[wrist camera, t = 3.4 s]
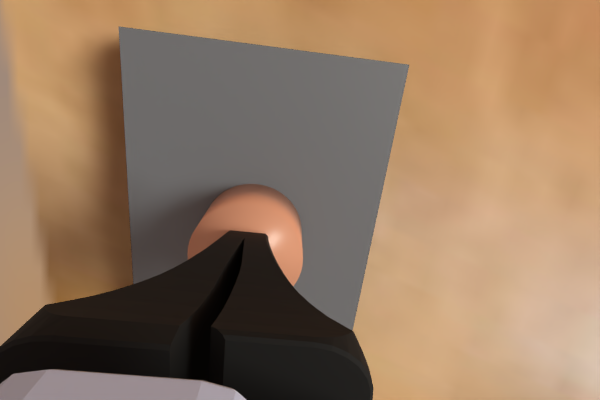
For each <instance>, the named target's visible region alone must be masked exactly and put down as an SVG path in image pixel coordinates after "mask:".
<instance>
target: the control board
mask: <svg viewBox="0 0 600 400" xmlns="http://www.w3.org/2000/svg"><path fill="white" fill-rule="evenodd" d="M119 41H120V58H121V75H122V93H123V110H124V128H125V145H126V163H127V180H128V198H129V215H130V233H131V250H132V267H133V284H136V283H138V282H141V281H144V280H146V279H149V278H152V277H154V276H157V275H159V274H161V273H164V272H166V271H168V270H170V269H172V268H174V267H176V266H178V265H180V264H182V263H183V262H185V261H187V260H188V255H187V253H188V245H189V241H190V238H191V236H192V234H193V232H194V230H195V229H196V227H197V226H198V224H199V222H200V221H201V219H202V218H203V216H204V215H205V213H206V211H207V210H208V208H209V207H210V205H211V204H212V202H213V201H214V200H215V199H216V198H217V197H218V196H219V195H220V194H221V193H223V192H224V191H226V190H228V189H230V188H232V187H235V186H238V185H243V184H259V185H264V186H268V187H271V188H273V189H275V190H277V191H279V192H280V193H282V194H283V195H284V196H286V197H287V198H288V199H289V200H290V201H291V202H292V204H293V205H294V207H295V208H296V210H297V212H298V214H299V217H300V221H301V229H302V248H303V265H302V270H301V273H300V276H299V278H298V280H297V282H296V283H295V285H294V286H293V287H294V288H295V289H296V290H297V291H298V293H299V294H301V295H302V296H303V297H304V298H305V299H306V300H307V301H308V302H309V303H310V304H312V305H313V306H314V307H315V308H317V309H318V310H319V311H321V312H322V313H324V314H325V315H326V316H328V317H329V318H331V319H333V320H334V321H336V322H338V323H340V324H341V325H343V326H345V327H347V328H349V329H350V330H353V325H354V321H355V316H356V311H357V307H358V302H359V297H360V292H361V288H362V283H363V278H364V274H365V269H366V264H367V260H368V255H369V250H370V246H371V241H372V236H373V232H374V227H375V222H376V218H377V213H378V208H379V204H380V199H381V194H382V190H383V185H384V180H385V176H386V171H387V166H388V162H389V157H390V152H391V147H392V143H393V138H394V133H395V129H396V124H397V119H398V115H399V110H400V105H401V101H402V96H403V91H404V87H405V82H406V77H407V73H408V68H409V65H407V64H399V63H392V62H384V61H376V60H369V59H361V58H354V57H346V56H338V55H331V54H323V53H316V52H308V51H300V50H293V49H285V48H278V47H270V46H262V45H255V44H247V43H240V42H232V41H225V40H217V39H209V38H202V37H194V36H187V35H179V34H171V33H164V32H156V31H149V30H141V29H133V28H126V27H119Z"/></svg>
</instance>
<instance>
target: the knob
mask: <svg viewBox="0 0 600 400" xmlns="http://www.w3.org/2000/svg"><path fill="white" fill-rule="evenodd" d="M230 230H234V231H244V232H253V233H264V234H266V235H267V236H268V240H269V244H270V247H271V250H272V252H273V255H274V257H275V259H276V261H277V263H278V265H279V266H280V268H281V270H282V271H283V273H284V275H285V276H286V278H287V279H288V280H289V282H290V283H291V284H292V286H294V285H295V283H296V282H297V280H298V278H299V276H300V273H301V270H302V265H303V248H302V229H301V221H300V217H299V214H298V212H297V210H296V208H295V207H294V205H293V204H292V202H291V201H290V200H289V199H288V198H287V197H286V196H284V195H283V194H282V193H280V192H279V191H277V190H275V189H273V188H271V187H268V186H264V185H259V184H243V185H238V186H235V187H232V188H230V189H228V190H226V191H224V192H223V193H221V194H220V195H219V196H218V197H217V198H216V199H215V200H214V201H213V202H212V204H211V205H210V207H209V208H208V210H207V211H206V213H205V215H204V216H203V218H202V219H201V221H200V222H199V224H198V226H197V227H196V229H195V230H194V232H193V234H192V236H191V238H190V241H189V245H188V253H187V255H188V259H190V258H192V257H193V256H195V255H196V254H198V253H200V252H201V251H203V250H204V249H206V248H207V247H208V246H210V245H211V244H212V243H214V242H215V241H216V240H218V239H219V238H220V237H222V236H223V235H224V234H226V233H227V232H228V231H230Z"/></svg>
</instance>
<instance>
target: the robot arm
mask: <svg viewBox="0 0 600 400" xmlns="http://www.w3.org/2000/svg"><path fill="white" fill-rule="evenodd" d="M372 398H373V384H372V379H371V375H370V371H369V368H368V365H367V362H366V359H365V357H364V354H363V352H362V349H361V347H360V345H359V343H358V340H357V338H356V336H355V334H354V332H353V331H352V330H350V329H349V328H347V327H345V326H343V325H341V324H340V323H338V322H336V321H334V320H333V319H331V318H329V317H328V316H326V315H325V314H324V313H322V312H321V311H319V310H318V309H317V308H315V307H314V306H313V305H312V304H310V303H309V302H308V301H307V300H306V299H305V298H304V297H303V296H302V295H301V294H299V293H298V291H297V290H296V289H295V288H294V287H293V286H292V284H291V283H290V282H289V280H288V279H287V278H286V276H285V275H284V273H283V271H282V270H281V268H280V266H279V265H278V263H277V261H276V259H275V257H274V255H273V252H272V250H271V247H270V244H269V240H268V236H267V235H266V234H264V233H253V232H244V231H234V230H230V231H228V232H227V233H226V234H224V235H223V236H222V237H220V238H219V239H218V240H216V241H215V242H214V243H212V244H211V245H210V246H208V247H207V248H206V249H204V250H203V251H201V252H200V253H198V254H196V255H195V256H193V257H192V258H190V259H188V260H187V261H185V262H183V263H182V264H180V265H178V266H176V267H174V268H172V269H170V270H168V271H166V272H164V273H161V274H159V275H157V276H154V277H152V278H149V279H146V280H144V281H141V282H138V283H136V284H133V285H130V286H127V287H124V288H120V289H117V290H114V291H110V292H106V293H102V294H99V295H94V296H90V297H85V298H80V299H75V300H70V301H65V302H59V303H54V304H48V305H45V306H44V307H43V308H41V309H40V310H39V311H38V312H37V313H36V314H35V315H34V316H33V317H32V318H31V319H30V320H28V321H27V322H26V323H25V324H24V325H23V326H22V327H21V328H20V329H19V330H17V331H16V333H14V334H13V335H12V336H11V337H10V338H9V339H8V340H7V341H6V342H5V343H3V344H2V345H1V346H0V400H372Z"/></svg>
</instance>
